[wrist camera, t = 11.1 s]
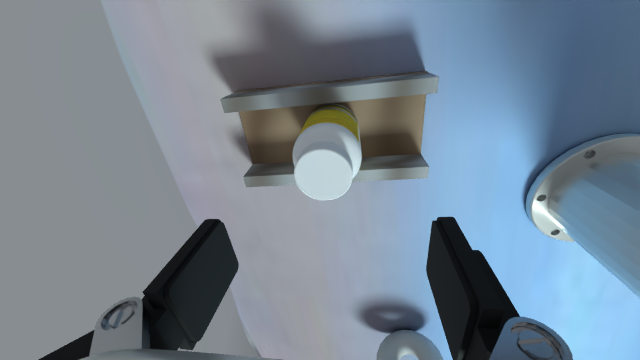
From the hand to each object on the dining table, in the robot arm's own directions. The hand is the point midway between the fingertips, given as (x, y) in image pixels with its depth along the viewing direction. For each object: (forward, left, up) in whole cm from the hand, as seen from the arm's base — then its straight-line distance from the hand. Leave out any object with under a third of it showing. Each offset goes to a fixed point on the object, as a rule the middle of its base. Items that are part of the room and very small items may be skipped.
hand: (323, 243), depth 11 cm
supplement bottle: (0, 0, -16) cm, 16 cm away
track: (+1, 0, -17) cm, 17 cm away
